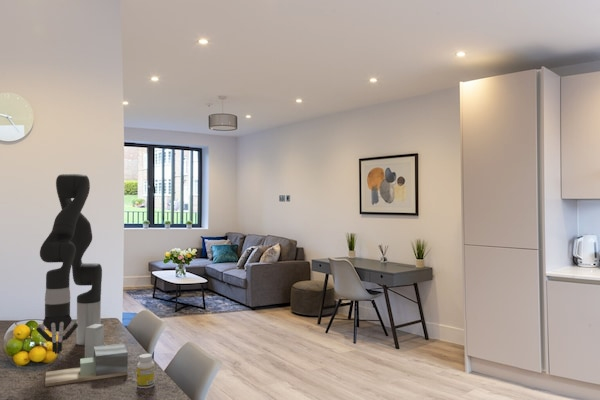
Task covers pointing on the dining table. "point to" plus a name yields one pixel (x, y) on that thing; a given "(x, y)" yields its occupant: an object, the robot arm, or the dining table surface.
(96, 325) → the skincare box
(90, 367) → the grey-green rectangular block
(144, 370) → the supplement bottle
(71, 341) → the dining table surface
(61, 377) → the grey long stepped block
